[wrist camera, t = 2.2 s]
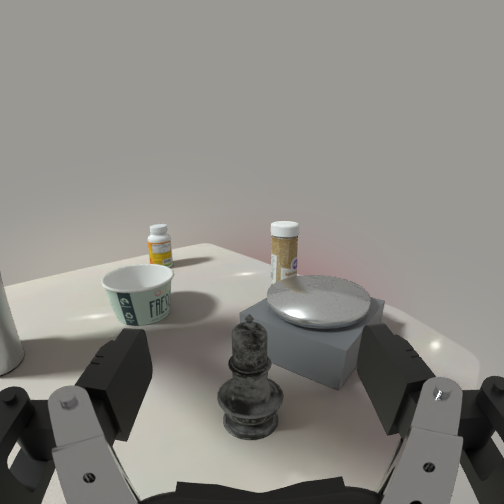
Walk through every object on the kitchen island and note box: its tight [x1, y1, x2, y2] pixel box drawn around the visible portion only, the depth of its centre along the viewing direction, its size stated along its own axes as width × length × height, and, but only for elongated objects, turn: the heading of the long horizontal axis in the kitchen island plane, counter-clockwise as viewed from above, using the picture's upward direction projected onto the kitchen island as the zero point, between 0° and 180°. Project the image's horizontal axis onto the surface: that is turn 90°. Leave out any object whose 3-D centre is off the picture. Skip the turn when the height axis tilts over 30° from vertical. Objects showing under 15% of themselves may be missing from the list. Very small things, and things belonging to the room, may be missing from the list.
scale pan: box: [267, 275, 371, 329], centre depth 37 cm, size 13×13×3 cm
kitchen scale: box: [240, 297, 385, 390], centre depth 39 cm, size 14×15×5 cm
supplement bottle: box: [148, 224, 173, 268], centre depth 68 cm, size 5×5×10 cm
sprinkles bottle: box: [271, 221, 299, 286], centre depth 51 cm, size 5×5×14 cm
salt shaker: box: [218, 314, 283, 440], centre depth 24 cm, size 6×6×12 cm
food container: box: [101, 264, 174, 326], centre depth 47 cm, size 12×12×6 cm
